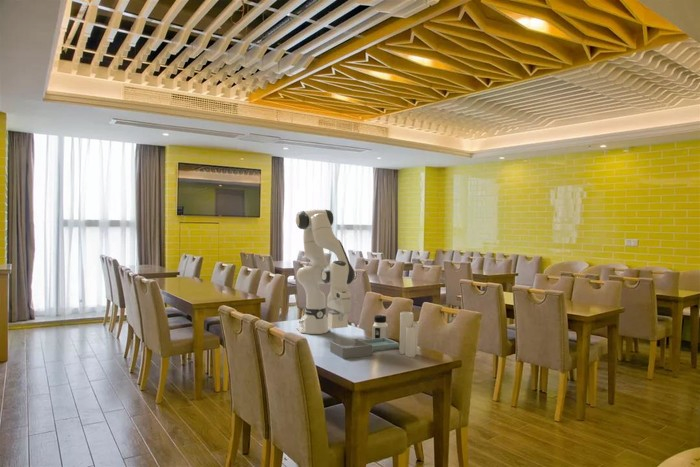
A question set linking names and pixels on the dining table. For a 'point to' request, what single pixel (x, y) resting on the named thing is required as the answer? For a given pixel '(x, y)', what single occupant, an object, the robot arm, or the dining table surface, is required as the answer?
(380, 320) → the container
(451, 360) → the dining table surface
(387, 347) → the tray
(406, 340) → the candle
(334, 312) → the caddy
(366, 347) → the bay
